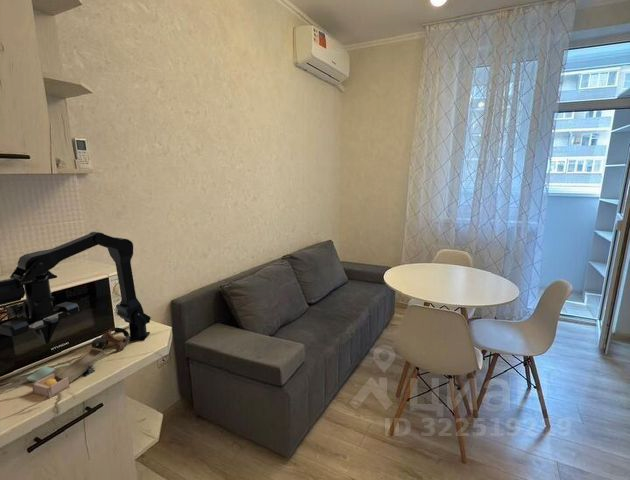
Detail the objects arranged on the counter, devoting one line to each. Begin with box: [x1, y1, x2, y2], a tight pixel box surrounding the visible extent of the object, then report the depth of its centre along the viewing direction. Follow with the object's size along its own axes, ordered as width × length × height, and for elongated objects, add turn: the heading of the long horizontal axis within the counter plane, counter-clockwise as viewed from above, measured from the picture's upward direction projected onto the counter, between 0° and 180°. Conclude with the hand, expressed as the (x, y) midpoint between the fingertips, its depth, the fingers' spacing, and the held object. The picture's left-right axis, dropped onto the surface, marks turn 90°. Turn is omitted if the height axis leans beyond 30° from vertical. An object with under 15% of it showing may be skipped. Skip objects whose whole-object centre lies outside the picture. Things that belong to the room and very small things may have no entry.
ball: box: [44, 379, 58, 386], centre depth 92 cm, size 3×3×3 cm
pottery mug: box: [90, 327, 130, 352], centre depth 115 cm, size 12×10×8 cm
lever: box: [26, 347, 106, 384], centre depth 100 cm, size 15×14×2 cm
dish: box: [31, 374, 71, 399], centre depth 92 cm, size 6×6×3 cm
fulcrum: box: [80, 367, 96, 377], centre depth 102 cm, size 3×5×2 cm, turn 72°
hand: (46, 343), depth 99 cm, fingers closed
